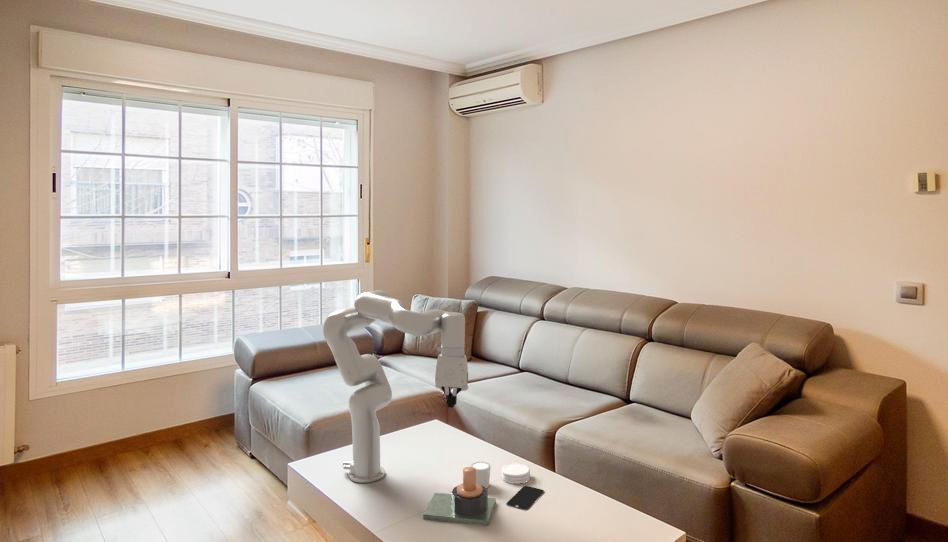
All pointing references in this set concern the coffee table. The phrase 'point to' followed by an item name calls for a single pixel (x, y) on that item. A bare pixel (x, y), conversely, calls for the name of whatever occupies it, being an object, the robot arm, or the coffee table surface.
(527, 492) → the smartphone
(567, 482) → the coffee table surface
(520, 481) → the white short cylinder
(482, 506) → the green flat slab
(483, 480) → the white grey cylinder
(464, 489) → the cap
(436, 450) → the coffee table surface
